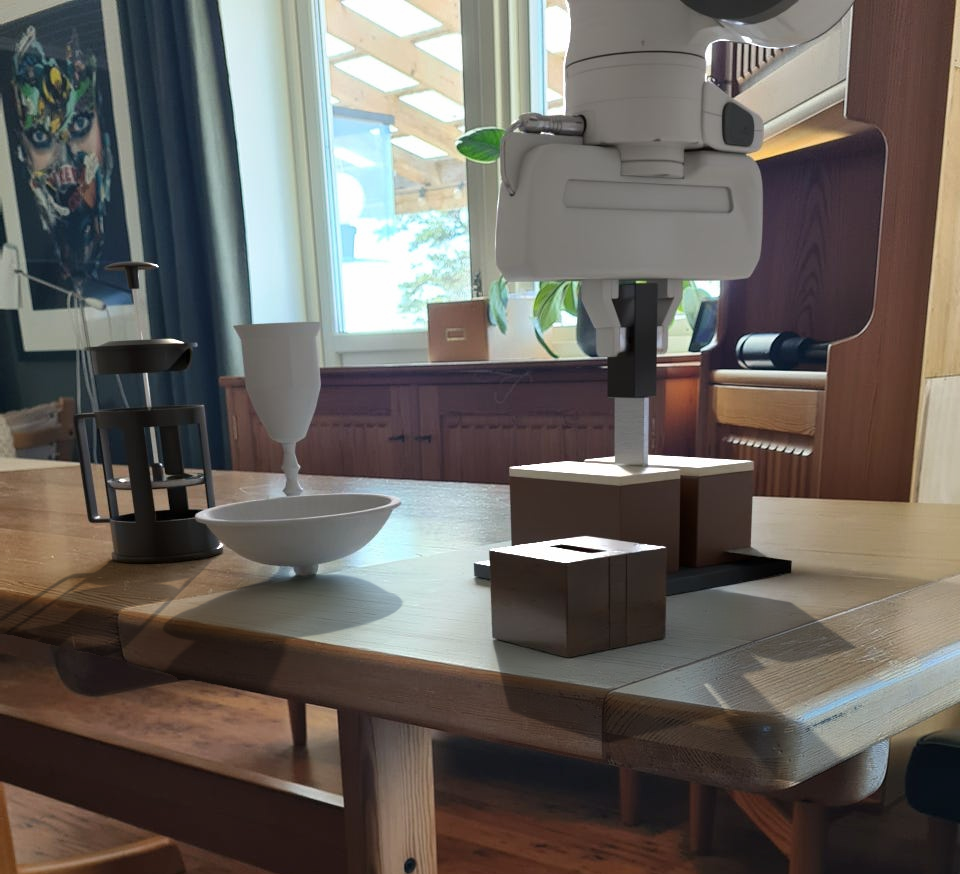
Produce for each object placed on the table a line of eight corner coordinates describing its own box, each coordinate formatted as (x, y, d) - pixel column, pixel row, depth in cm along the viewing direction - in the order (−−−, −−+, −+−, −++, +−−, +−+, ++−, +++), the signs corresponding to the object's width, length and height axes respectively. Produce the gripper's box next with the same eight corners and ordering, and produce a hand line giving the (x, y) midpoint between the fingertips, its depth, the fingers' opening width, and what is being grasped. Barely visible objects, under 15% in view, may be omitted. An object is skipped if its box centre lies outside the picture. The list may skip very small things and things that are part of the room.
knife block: (586, 620, 77) (585, 535, 75) (666, 638, 72) (667, 547, 70) (491, 638, 73) (488, 549, 71) (567, 658, 68) (566, 562, 66)
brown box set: (639, 550, 102) (639, 451, 99) (791, 573, 90) (797, 459, 87) (473, 576, 94) (469, 468, 91) (616, 604, 81) (616, 480, 78)
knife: (627, 543, 92) (628, 285, 86) (655, 547, 90) (659, 282, 84) (605, 546, 91) (605, 285, 85) (633, 550, 89) (636, 282, 83)
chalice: (243, 554, 109) (218, 325, 102) (273, 542, 115) (252, 326, 108) (324, 554, 107) (304, 321, 101) (351, 542, 113) (334, 322, 107)
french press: (243, 545, 114) (213, 262, 106) (213, 561, 106) (177, 254, 97) (116, 548, 115) (76, 269, 107) (76, 565, 107) (29, 262, 98)
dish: (289, 553, 108) (283, 492, 106) (441, 558, 102) (438, 493, 101) (158, 590, 93) (148, 520, 92) (327, 598, 88) (321, 523, 86)
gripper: (533, 100, 73) (537, 360, 78) (782, 122, 84) (772, 350, 89) (470, 118, 78) (478, 362, 83) (713, 136, 88) (708, 351, 93)
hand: (632, 355), depth 86 cm, fingers closed on knife, 2 cm apart
